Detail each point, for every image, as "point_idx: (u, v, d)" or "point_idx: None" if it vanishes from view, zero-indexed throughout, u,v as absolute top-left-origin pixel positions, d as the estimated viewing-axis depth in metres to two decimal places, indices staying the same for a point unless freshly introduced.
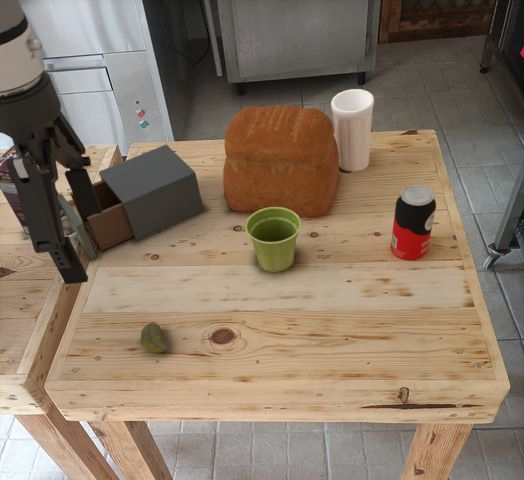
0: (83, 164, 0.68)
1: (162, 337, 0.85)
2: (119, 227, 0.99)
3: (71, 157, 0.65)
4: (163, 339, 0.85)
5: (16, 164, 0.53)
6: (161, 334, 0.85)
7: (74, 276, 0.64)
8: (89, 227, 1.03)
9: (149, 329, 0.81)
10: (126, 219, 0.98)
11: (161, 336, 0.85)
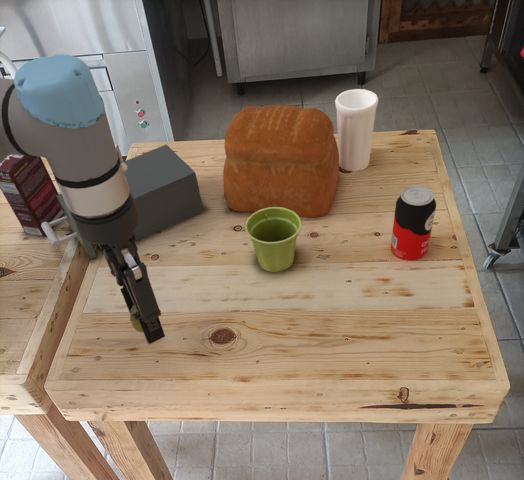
0: None
1: None
2: None
3: None
4: None
5: (135, 273, 0.65)
6: None
7: (156, 335, 0.79)
8: None
9: None
10: None
11: None
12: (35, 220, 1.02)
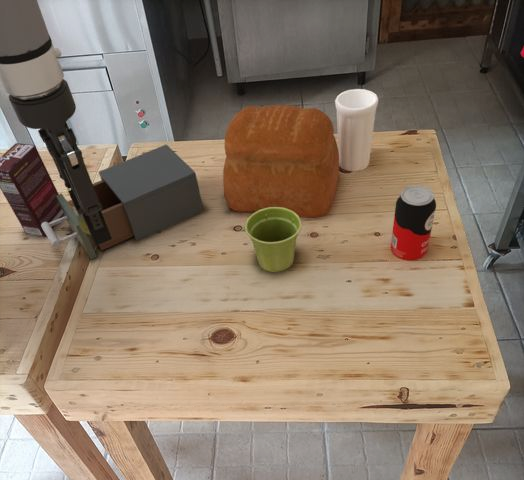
0: None
1: None
2: (119, 227, 0.99)
3: None
4: None
5: (71, 158, 0.69)
6: None
7: (102, 236, 0.83)
8: None
9: None
10: (126, 219, 0.98)
11: None
12: (35, 220, 1.02)
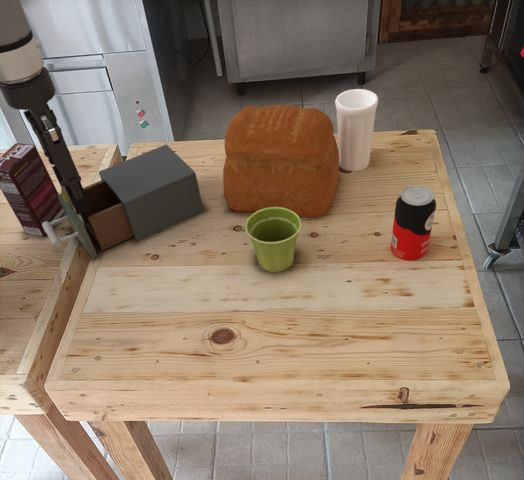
0: None
1: None
2: (120, 226, 0.99)
3: None
4: None
5: (52, 134, 0.80)
6: None
7: (83, 206, 0.94)
8: (90, 227, 1.04)
9: None
10: (127, 219, 0.99)
11: None
12: (35, 220, 1.02)
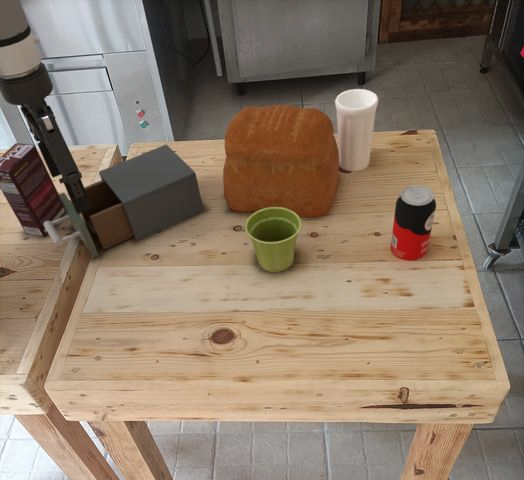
0: None
1: None
2: (122, 225, 0.99)
3: None
4: None
5: (44, 120, 0.78)
6: None
7: (83, 205, 0.90)
8: (91, 226, 1.04)
9: None
10: None
11: None
12: (35, 220, 1.02)
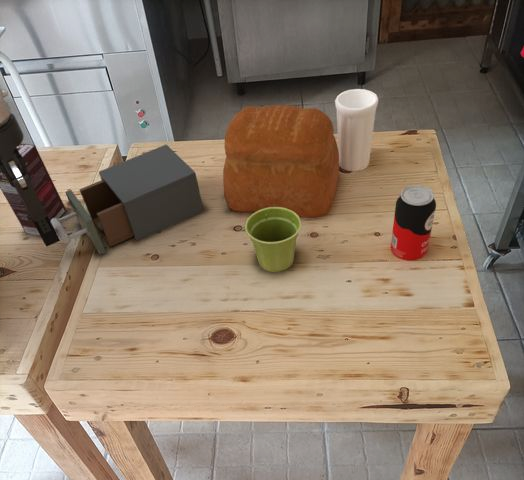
0: None
1: None
2: (128, 223, 0.99)
3: None
4: None
5: (21, 183, 0.83)
6: None
7: (51, 238, 0.97)
8: (98, 223, 1.04)
9: None
10: None
11: None
12: None
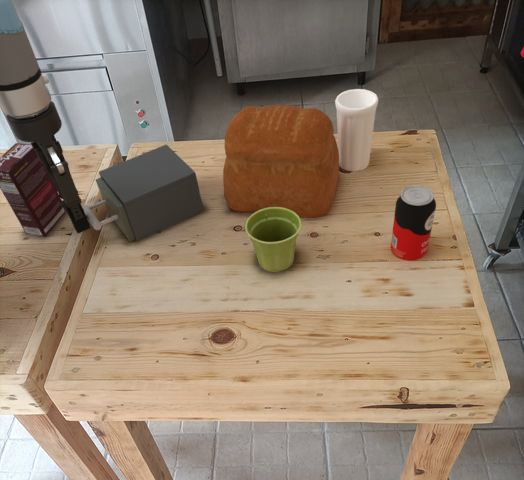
0: None
1: None
2: None
3: None
4: None
5: (59, 169, 0.85)
6: None
7: (83, 225, 0.99)
8: None
9: None
10: None
11: None
12: (35, 220, 1.02)
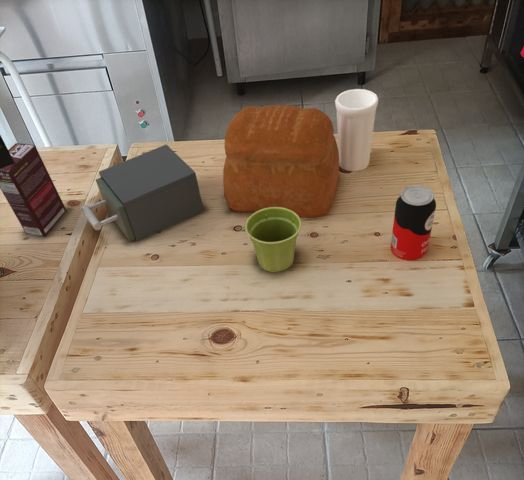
0: None
1: None
2: None
3: None
4: None
5: None
6: None
7: (4, 159, 0.84)
8: None
9: None
10: None
11: None
12: (35, 220, 1.02)
